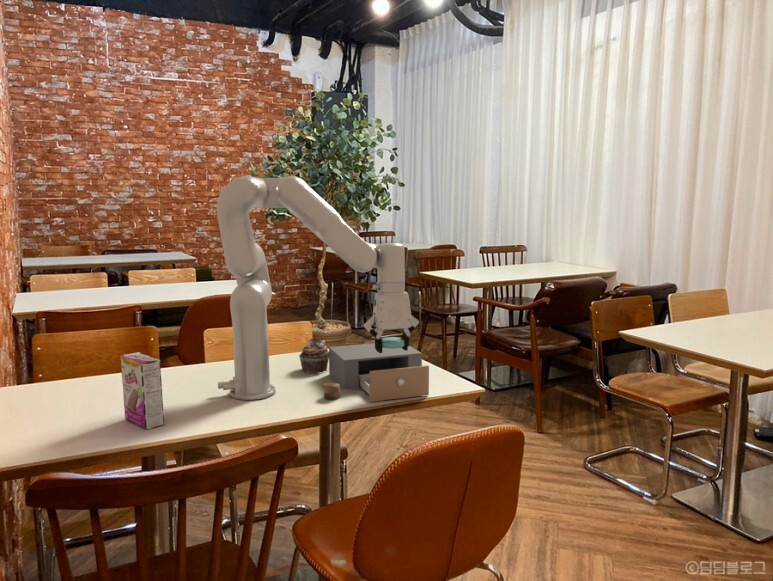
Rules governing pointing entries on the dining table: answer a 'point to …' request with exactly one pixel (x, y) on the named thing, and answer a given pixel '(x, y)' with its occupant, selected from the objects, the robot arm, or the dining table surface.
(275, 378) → the dining table surface
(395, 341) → the disc
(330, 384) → the brown rounded piece
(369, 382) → the brown drawer
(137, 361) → the candy bar box
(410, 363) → the grey cabinet
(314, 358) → the cupcake
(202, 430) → the dining table surface
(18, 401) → the dining table surface
